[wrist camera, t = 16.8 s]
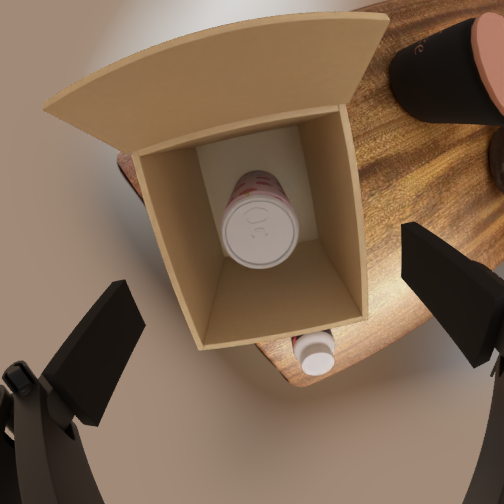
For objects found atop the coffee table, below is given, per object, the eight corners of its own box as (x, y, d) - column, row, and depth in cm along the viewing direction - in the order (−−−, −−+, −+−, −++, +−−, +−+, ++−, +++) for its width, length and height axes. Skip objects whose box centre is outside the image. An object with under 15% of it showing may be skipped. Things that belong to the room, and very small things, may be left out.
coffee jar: (439, 52, 25) (528, 28, 8) (455, 123, 29) (552, 132, 12) (376, 47, 26) (459, -2, 9) (395, 124, 30) (494, 126, 13)
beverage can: (263, 160, 32) (270, 175, 18) (291, 199, 34) (317, 243, 20) (224, 188, 33) (200, 225, 19) (252, 226, 35) (250, 286, 21)
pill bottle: (282, 311, 40) (289, 357, 31) (318, 297, 39) (333, 341, 30) (296, 337, 42) (304, 384, 33) (329, 324, 41) (344, 370, 32)
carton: (191, 144, 32) (130, 151, 15) (300, 120, 30) (345, 102, 14) (222, 259, 37) (198, 351, 21) (321, 239, 36) (368, 319, 20)
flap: (126, 154, 15) (125, 148, 15) (349, 103, 14) (347, 97, 14) (42, 110, 7) (42, 102, 7) (390, 20, 6) (386, 13, 6)
